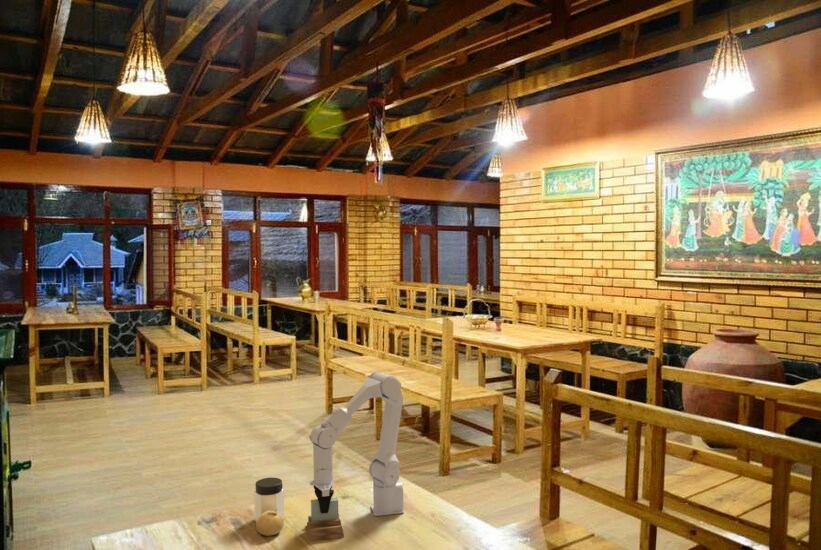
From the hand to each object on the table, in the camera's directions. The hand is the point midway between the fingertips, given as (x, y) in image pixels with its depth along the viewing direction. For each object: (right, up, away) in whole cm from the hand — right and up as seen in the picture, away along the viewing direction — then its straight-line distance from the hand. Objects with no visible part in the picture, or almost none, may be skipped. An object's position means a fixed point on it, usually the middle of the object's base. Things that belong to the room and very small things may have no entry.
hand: (324, 510), depth 195 cm
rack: (+1, -5, -2) cm, 6 cm away
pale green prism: (0, -3, 0) cm, 3 cm away
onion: (-16, -6, -2) cm, 17 cm away
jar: (-18, -5, +6) cm, 20 cm away
